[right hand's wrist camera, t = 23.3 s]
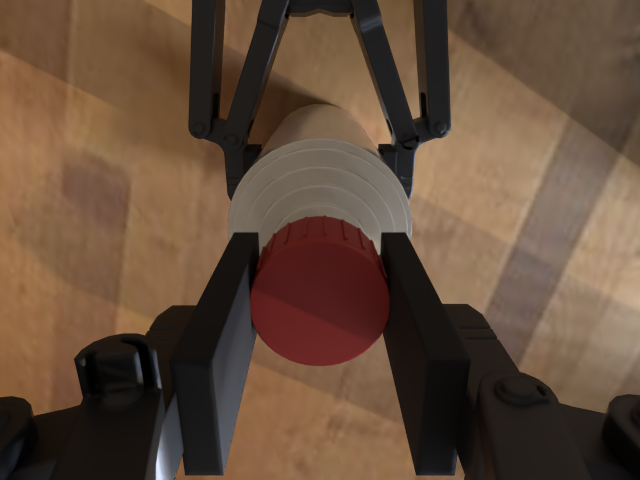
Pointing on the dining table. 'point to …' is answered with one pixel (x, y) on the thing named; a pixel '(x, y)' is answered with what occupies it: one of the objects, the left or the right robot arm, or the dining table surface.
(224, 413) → the right robot arm
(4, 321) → the dining table surface
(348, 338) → the cap
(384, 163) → the bottle
